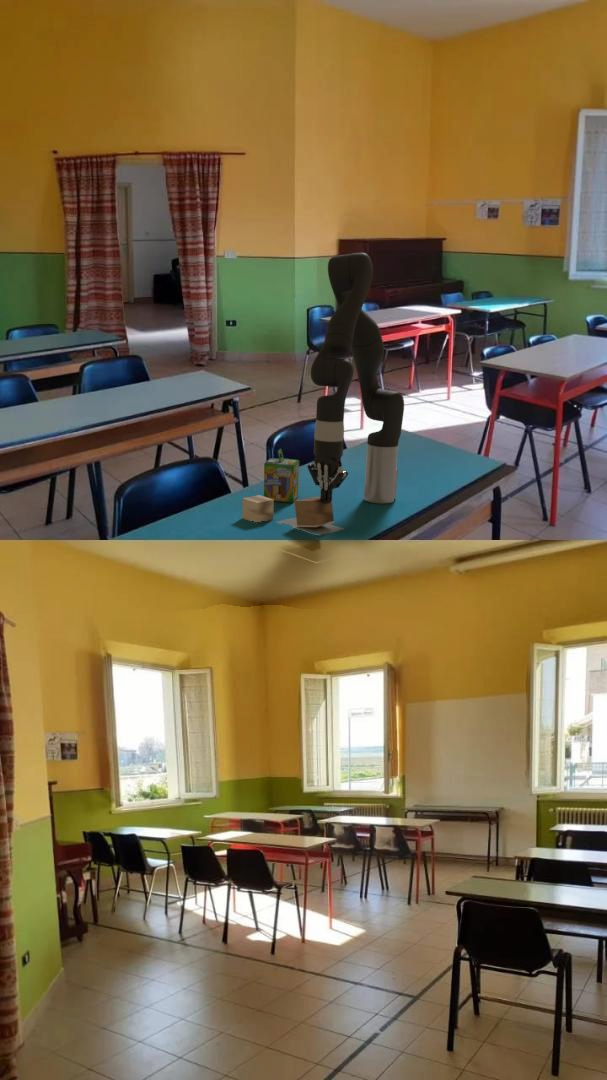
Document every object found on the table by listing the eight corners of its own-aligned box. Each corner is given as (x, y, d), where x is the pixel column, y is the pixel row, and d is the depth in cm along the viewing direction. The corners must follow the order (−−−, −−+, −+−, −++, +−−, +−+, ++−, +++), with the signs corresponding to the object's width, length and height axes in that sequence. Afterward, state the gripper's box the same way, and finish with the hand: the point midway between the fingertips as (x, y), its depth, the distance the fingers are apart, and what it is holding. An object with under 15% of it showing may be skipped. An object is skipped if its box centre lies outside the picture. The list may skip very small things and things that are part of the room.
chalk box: (292, 503, 246) (294, 454, 241) (262, 501, 247) (264, 451, 243) (299, 496, 254) (301, 448, 250) (270, 493, 256) (271, 446, 252)
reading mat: (303, 516, 233) (303, 515, 233) (344, 529, 222) (344, 528, 222) (274, 522, 226) (274, 522, 226) (316, 536, 215) (316, 536, 215)
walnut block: (315, 522, 227) (312, 497, 226) (334, 522, 222) (331, 496, 221) (297, 527, 222) (294, 500, 221) (315, 527, 217) (312, 500, 216)
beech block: (258, 515, 232) (259, 495, 230) (273, 520, 228) (273, 499, 226) (242, 519, 228) (242, 498, 226) (256, 524, 224) (257, 502, 222)
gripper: (358, 440, 211) (354, 506, 216) (320, 432, 220) (317, 495, 225) (338, 443, 206) (334, 510, 211) (300, 435, 215) (298, 499, 220)
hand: (325, 502), depth 218 cm, fingers closed
